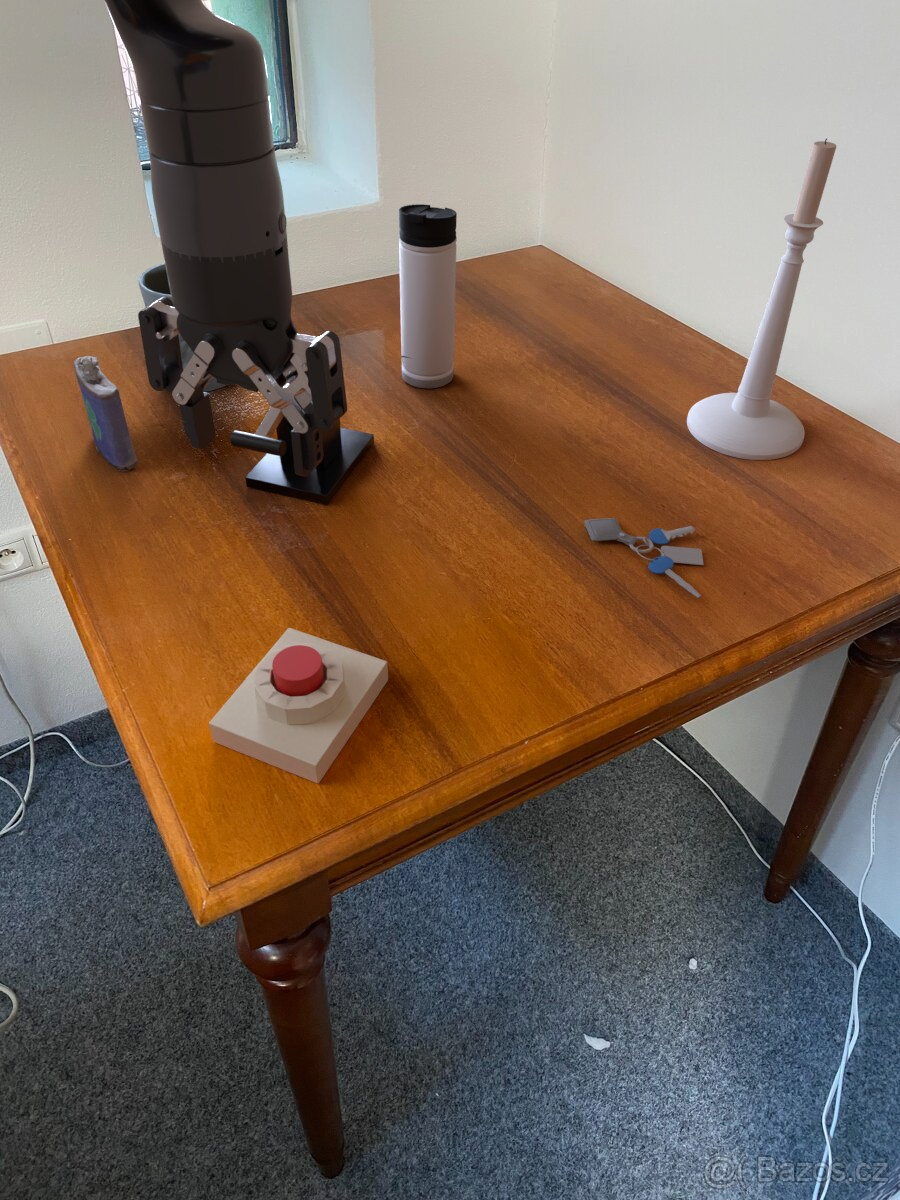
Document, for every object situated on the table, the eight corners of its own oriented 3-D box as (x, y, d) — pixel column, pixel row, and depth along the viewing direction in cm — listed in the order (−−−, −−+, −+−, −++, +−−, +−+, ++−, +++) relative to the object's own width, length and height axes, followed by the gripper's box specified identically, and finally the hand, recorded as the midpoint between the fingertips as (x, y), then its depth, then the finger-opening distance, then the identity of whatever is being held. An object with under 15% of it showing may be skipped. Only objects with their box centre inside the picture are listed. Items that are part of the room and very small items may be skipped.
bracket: (327, 505, 87) (316, 389, 78) (246, 487, 89) (227, 372, 80) (374, 443, 95) (369, 332, 86) (299, 428, 97) (286, 318, 88)
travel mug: (392, 384, 105) (386, 211, 91) (414, 360, 109) (412, 191, 96) (440, 395, 103) (442, 220, 89) (461, 370, 107) (466, 200, 94)
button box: (318, 784, 62) (313, 749, 60) (213, 742, 65) (203, 706, 62) (388, 680, 70) (387, 645, 67) (291, 645, 72) (286, 610, 70)
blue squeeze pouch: (141, 467, 91) (116, 373, 84) (113, 476, 90) (85, 381, 82) (113, 427, 96) (87, 336, 89) (87, 435, 95) (58, 343, 88)
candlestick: (827, 440, 97) (934, 148, 77) (742, 472, 92) (832, 168, 72) (745, 389, 105) (822, 112, 85) (663, 416, 100) (723, 129, 80)
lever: (282, 463, 80) (276, 445, 78) (234, 452, 81) (226, 434, 79) (334, 373, 86) (329, 354, 84) (287, 364, 87) (282, 345, 85)
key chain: (571, 532, 84) (572, 525, 83) (622, 497, 88) (623, 490, 88) (696, 602, 77) (698, 595, 76) (745, 560, 81) (747, 553, 81)
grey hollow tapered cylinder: (157, 361, 108) (135, 264, 100) (240, 350, 110) (225, 254, 102) (164, 401, 101) (141, 300, 93) (252, 389, 103) (237, 289, 95)
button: (307, 703, 63) (305, 687, 62) (265, 687, 64) (262, 671, 63) (332, 670, 66) (331, 653, 64) (291, 655, 67) (288, 639, 65)
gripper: (85, 230, 52) (141, 461, 63) (298, 270, 49) (318, 508, 59) (160, 194, 57) (200, 413, 68) (356, 227, 54) (365, 453, 65)
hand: (255, 457), depth 64 cm, fingers open, 8 cm apart
